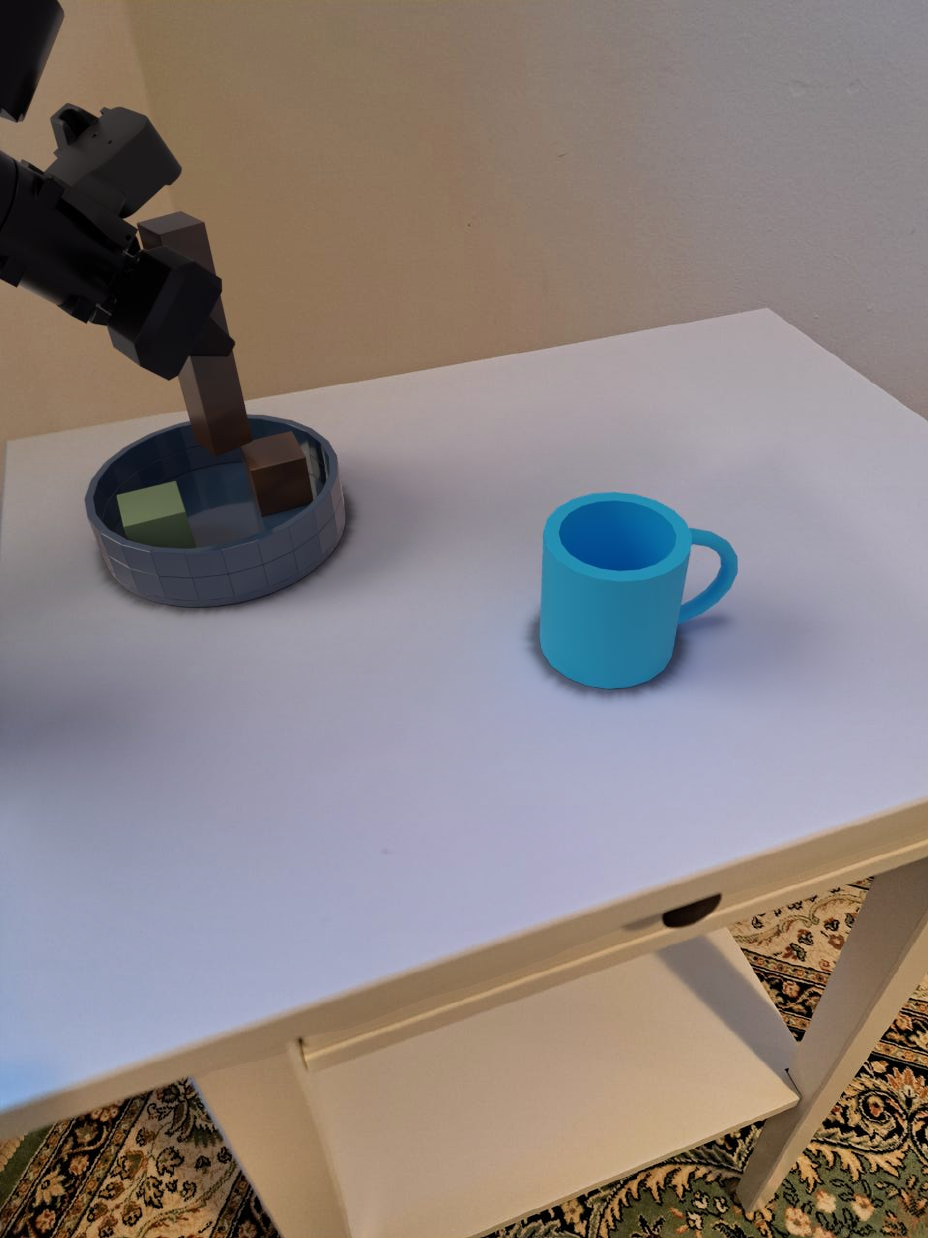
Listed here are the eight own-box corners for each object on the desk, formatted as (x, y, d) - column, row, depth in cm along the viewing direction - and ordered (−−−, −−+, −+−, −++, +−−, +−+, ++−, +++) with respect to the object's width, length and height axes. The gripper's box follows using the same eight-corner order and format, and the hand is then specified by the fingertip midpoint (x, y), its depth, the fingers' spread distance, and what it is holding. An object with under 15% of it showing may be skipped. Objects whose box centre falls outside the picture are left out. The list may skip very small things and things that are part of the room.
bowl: (120, 637, 56) (98, 583, 53) (94, 496, 68) (74, 446, 65) (376, 564, 61) (369, 510, 58) (310, 444, 72) (301, 395, 69)
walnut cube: (261, 517, 64) (250, 470, 62) (249, 488, 67) (238, 442, 64) (314, 503, 65) (306, 456, 63) (300, 476, 68) (291, 430, 65)
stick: (216, 457, 61) (159, 234, 51) (195, 441, 63) (135, 222, 53) (253, 441, 63) (204, 221, 53) (231, 426, 64) (180, 210, 54)
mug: (563, 700, 51) (569, 593, 45) (523, 609, 57) (525, 504, 51) (755, 661, 53) (784, 554, 47) (697, 577, 58) (717, 472, 53)
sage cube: (140, 574, 60) (123, 526, 57) (133, 541, 63) (116, 494, 60) (199, 558, 61) (185, 511, 58) (189, 527, 64) (175, 480, 61)
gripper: (137, 88, 40) (362, 268, 52) (-11, 39, 50) (205, 199, 63) (29, 311, 41) (272, 433, 54) (-93, 219, 52) (134, 339, 64)
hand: (218, 341), depth 59 cm, fingers closed on stick, 3 cm apart
